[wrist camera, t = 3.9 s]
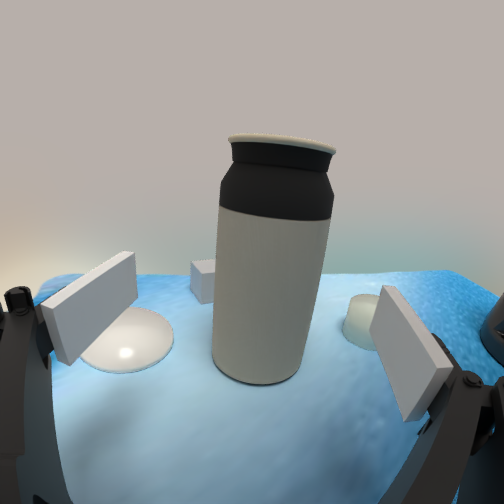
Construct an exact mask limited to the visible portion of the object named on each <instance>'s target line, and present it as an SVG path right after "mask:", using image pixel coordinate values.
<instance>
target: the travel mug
mask: <svg viewBox="0 0 504 504" xmlns="http://www.w3.org/2000/svg"><path fill="white" fill-rule="evenodd" d="M228 141H229V142H230V143H231V146H232V159H233V161H234V162H233V164H232V165H231V167H230V168H229V170H228V172H227V173H226V175H225V176H224V178H223V180H222V181H221V187H220V200H219V214H218V229H217V246H216V262H215V282H214V306H213V336H212V356H213V359H214V362H215V363H216V365H217V366H218V367H219V368H220V369H221V370H222V371H223V372H224V373H226V374H227V375H229V376H230V377H232V378H234V379H237V380H239V381H243V382H247V383H252V384H271V383H276V382H280V381H283V380H285V379H287V378H289V377H290V376H292V375H293V374H294V373H295V372H296V371H297V370H298V368H299V366H300V364H301V360H302V356H303V352H304V348H305V344H306V340H307V336H308V332H309V328H310V323H311V319H312V315H313V310H314V306H315V301H316V296H317V292H318V287H319V282H320V277H321V272H322V267H323V261H324V256H325V250H326V245H327V239H328V233H329V226H330V220H331V214H332V207H333V200H334V193H333V191H332V188H331V185H330V182H329V179H328V176H327V174H326V172H328V168H329V164H330V160H331V158H332V156H333V155H334V154H335V153H336V149H335V148H334V147H333V146H331V145H328V144H325V143H321V142H318V141H313V140H308V139H303V138H297V137H290V136H283V135H272V134H254V133H250V134H235V135H231V136H230V137H229V138H228Z"/></svg>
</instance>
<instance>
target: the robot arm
mask: <svg viewBox="0 0 504 504" xmlns="http://www.w3.org/2000/svg"><path fill="white" fill-rule="evenodd" d="M4 297H5V301H6V304H7V308H8V311H9V312H3V309H2V305H1V303H0V504H73V502H72V501H71V499H70V497H69V495H68V492H67V488H66V484H65V480H64V476H63V472H62V467H61V462H60V457H59V451H58V445H57V439H56V431H55V423H54V413H53V400H52V374H51V357H50V354H49V353H51V352H52V351H53V350H54V351H55V354H56V357H57V360H58V361H60V362H62V363H64V364H66V365H68V366H71V365H72V364H73V363H74V362H75V361H76V360H77V359H78V358H79V357H80V355H81V354H82V353H83V352H84V351H85V350H86V349H87V348H88V347H89V346H90V345H91V344H92V343H93V342H94V341H95V340H96V339H97V338H98V337H99V336H100V335H101V334H102V333H103V332H104V331H105V330H106V329H107V328H108V327H109V326H110V325H111V324H112V323H113V322H114V321H115V320H116V319H117V318H118V317H119V316H120V315H121V314H122V313H123V312H124V311H125V310H126V309H127V308H128V307H129V306H130V305H131V304H132V303H133V302H134V301H135V300H136V299H137V298H138V292H137V280H136V265H135V253H134V252H128V251H123V252H121V253H119V254H117V255H116V256H114V257H112V258H111V259H109V260H108V261H106V262H104V263H102V264H101V265H99V266H97V267H96V268H94V269H93V270H91V271H89V272H88V273H86V274H85V275H83V276H82V277H80V278H78V279H77V280H75V281H74V282H72V283H71V284H69V285H68V286H65V287H63V288H62V289H60V290H59V291H58V292H56V293H54V294H53V295H52V296H50V297H48V298H47V299H45V300H44V301H43V302H41V303H40V304H38V305H37V306H35V307H34V303H33V299H32V296H31V291H30V289H29V288H28V287H25V286H19V287H15V288H12V289H10V290H8V291H7V292H6V293H5V294H4ZM369 332H370V335H371V337H372V339H373V342H374V344H375V347H376V349H377V351H378V354H379V356H380V359H381V361H382V364H383V366H384V369H385V371H386V374H387V377H388V379H389V382H390V384H391V387H392V390H393V393H394V395H395V398H396V401H397V404H398V406H399V409H400V412H401V415H402V418H403V421H404V422H410V421H418V420H420V419H421V418H422V417H423V415H424V414H425V412H426V411H427V410H428V412H429V415H430V418H429V419H428V420H427V422H426V423H425V424H424V426H423V427H422V428H421V430H420V431H419V432H418V433H417V435H420V436H419V438H418V440H417V442H416V443H415V445H414V447H413V449H412V451H411V453H410V454H409V456H408V458H407V460H406V461H405V463H404V465H403V467H402V468H401V470H400V471H399V473H398V475H397V476H396V478H395V479H394V481H393V482H392V484H391V485H390V487H389V488H388V490H387V491H386V493H385V494H384V496H383V497H382V498H381V500H380V501H379V502H378V504H451V503H452V501H453V499H454V497H455V494H456V492H457V489H458V487H459V484H460V487H459V493H458V499H457V504H504V376H502V377H499V379H498V380H497V382H496V383H495V385H494V386H489V385H484V383H483V381H482V379H481V378H480V377H479V376H478V375H477V374H475V373H473V372H471V371H463V370H462V369H461V367H460V366H459V364H458V363H457V362H456V360H455V359H454V357H453V356H452V354H450V351H449V350H448V349H447V348H446V346H445V344H444V343H443V342H442V340H441V339H440V338H438V337H437V336H436V335H435V334H433V333H430V332H429V330H428V329H427V327H426V326H425V325H424V323H423V322H422V321H421V319H420V318H419V316H418V315H417V314H416V312H415V311H414V310H413V309H412V307H411V306H410V305H409V303H408V302H407V301H406V299H405V298H404V297H403V296H402V294H401V293H400V292H399V291H398V289H397V288H396V287H395V286H386V285H382V289H381V293H380V296H379V299H378V303H377V306H376V309H375V312H374V316H373V319H372V322H371V325H370V328H369ZM480 336H481V339H482V342H483V343H484V345H485V347H486V348H487V350H488V351H489V352H490V353H491V354H492V355H493V356H494V357H495V358H496V359H497V360H498V361H499V362H500V363H501V364H503V365H504V293H503V295H502V296H501V297H500V299H499V300H498V301H497V303H496V304H495V306H494V307H493V308H492V310H491V311H490V312H489V313H488V315H487V317H486V319H485V321H484V323H483V325H482V328H481V330H480ZM494 427H495V430H494V433H493V435H492V429H493V428H494Z"/></svg>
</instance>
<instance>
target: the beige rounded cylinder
mask: <svg viewBox="0 0 504 504" xmlns="http://www.w3.org/2000/svg"><path fill="white" fill-rule="evenodd" d="M378 299H379V296H377V295H371V294H361V295H356V296H354V297H352V298H351V300H350V304H349V307H348V311H347V315H346V318H345V322H344V325H343V329H342V331H343V334H344V336H345V337H346V339H347V340H348V341H350V342H351V343H352V344H354V345H356V346H358V347H360V348H363V349H366V350H370V351H377V349H376V347H375V344H374V342H373V339H372V337H371V335H370V332H369V328H370V325H371V322H372V319H373V316H374V312H375V309H376V306H377V303H378Z"/></svg>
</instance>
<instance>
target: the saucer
mask: <svg viewBox="0 0 504 504" xmlns="http://www.w3.org/2000/svg"><path fill="white" fill-rule="evenodd" d="M173 339H174V338H173V329H172V327H171V325H170V323H169V322H168V321H167V319H165V318H164V317H163V316H161V315H160V314H158V313H156V312H154V311H151V310H148V309H144V308H138V307H128V308H127V309H126V310H125V311H124V312H123V313H122V314H121V315H120V316H119V317H118V318H117V319H116V320H115V321H114V322H113V323H112V324H111V325H110V326H109V327H108V328H107V329H106V330H105V331H104V332H103V333H102V334H101V335H100V336H99V337H98V338H97V339H96V340H95V341H94V342H93V343H92V344H91V345H90V346H89V347H88V348H87V349H86V350H85V351H84V352H83V353H82V354H81V355H80V358H81V359H82V360H83V361H84V362H85V363H86V364H88V365H89V366H91V367H93V368H95V369H98V370H101V371H105V372H109V373H131V372H136V371H140V370H143V369H146V368H149V367H151V366H153V365H155V364H156V363H158V362H159V361H161V360H162V359H163V358H164V357H165V356H166V355H167V354H168V353H169V351H170V350H171V348H172V345H173Z"/></svg>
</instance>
